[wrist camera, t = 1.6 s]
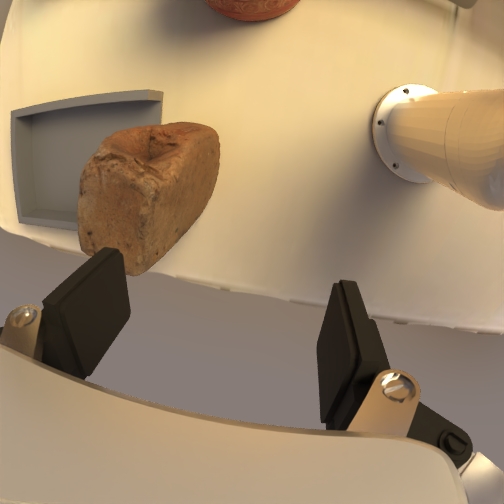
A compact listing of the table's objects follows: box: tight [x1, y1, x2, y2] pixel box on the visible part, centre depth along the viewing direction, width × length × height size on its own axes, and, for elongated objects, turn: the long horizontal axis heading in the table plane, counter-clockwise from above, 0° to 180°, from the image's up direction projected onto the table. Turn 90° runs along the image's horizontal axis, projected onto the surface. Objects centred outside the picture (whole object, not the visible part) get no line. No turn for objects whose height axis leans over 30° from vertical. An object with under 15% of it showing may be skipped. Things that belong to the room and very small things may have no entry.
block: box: [77, 122, 220, 276], centre depth 27 cm, size 11×8×20 cm
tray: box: [11, 90, 163, 231], centre depth 35 cm, size 25×18×4 cm
